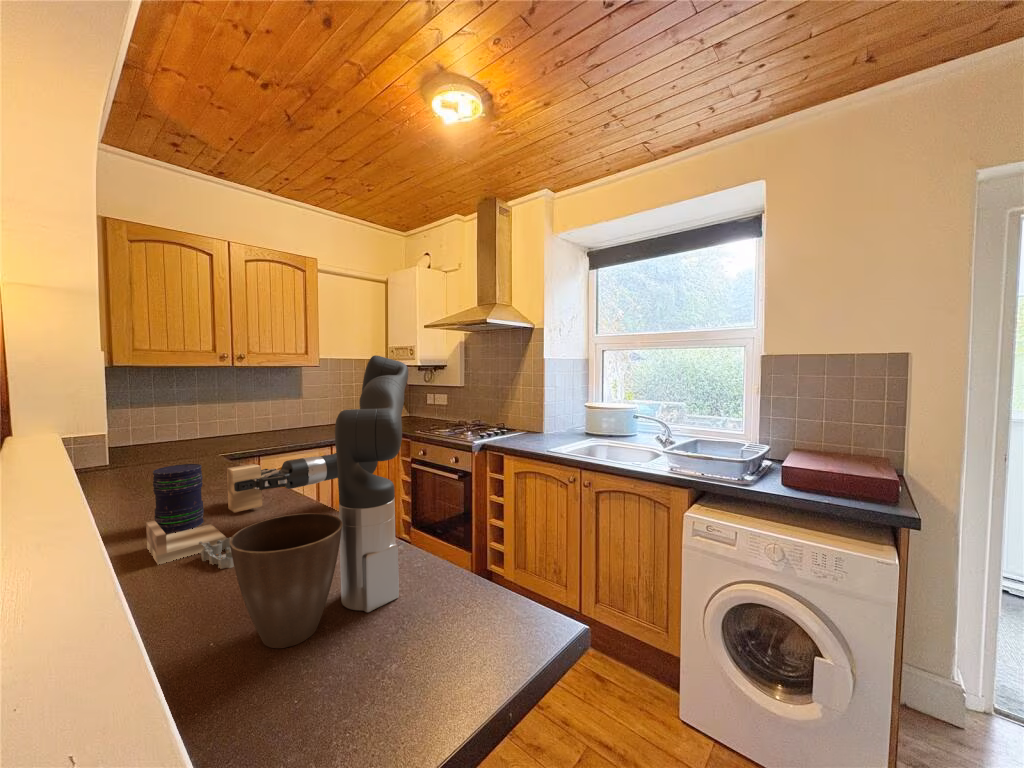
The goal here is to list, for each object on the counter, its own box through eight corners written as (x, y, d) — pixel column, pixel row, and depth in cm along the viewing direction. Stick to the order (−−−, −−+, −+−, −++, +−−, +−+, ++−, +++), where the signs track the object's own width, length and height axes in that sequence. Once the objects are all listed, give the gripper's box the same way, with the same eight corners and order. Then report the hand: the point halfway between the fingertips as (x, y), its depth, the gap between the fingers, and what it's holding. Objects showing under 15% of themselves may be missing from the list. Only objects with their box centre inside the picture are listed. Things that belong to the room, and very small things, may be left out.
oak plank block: (262, 506, 103) (260, 466, 103) (234, 512, 98) (232, 470, 98) (255, 502, 106) (254, 463, 106) (228, 508, 101) (226, 468, 101)
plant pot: (317, 594, 74) (315, 506, 73) (363, 627, 65) (360, 526, 64) (218, 637, 62) (214, 532, 62) (256, 684, 53) (252, 562, 52)
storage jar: (183, 533, 101) (180, 473, 101) (143, 533, 101) (141, 473, 101) (213, 518, 111) (211, 463, 111) (177, 518, 111) (175, 463, 111)
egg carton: (197, 560, 88) (196, 541, 88) (235, 547, 94) (235, 529, 94) (220, 573, 82) (219, 553, 82) (260, 558, 89) (259, 539, 88)
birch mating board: (226, 545, 94) (225, 519, 94) (157, 565, 85) (156, 536, 85) (211, 532, 102) (210, 508, 102) (147, 548, 93) (145, 522, 93)
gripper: (293, 454, 117) (221, 465, 104) (315, 461, 108) (240, 474, 95) (294, 481, 118) (222, 495, 105) (316, 490, 108) (241, 506, 95)
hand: (232, 485), depth 100 cm, fingers closed on oak plank block, 4 cm apart
